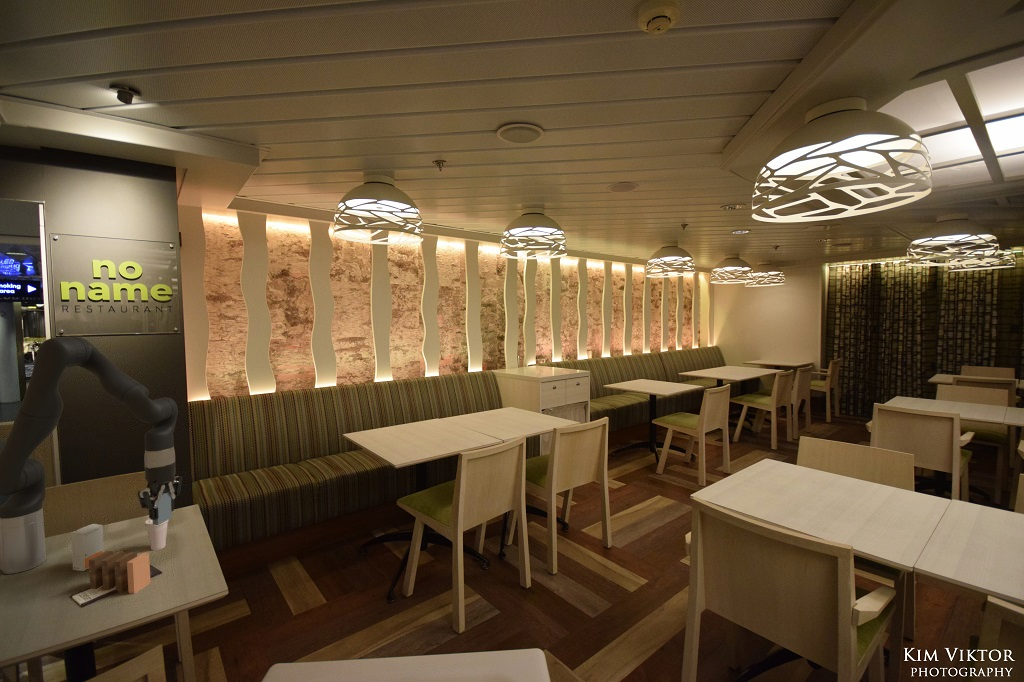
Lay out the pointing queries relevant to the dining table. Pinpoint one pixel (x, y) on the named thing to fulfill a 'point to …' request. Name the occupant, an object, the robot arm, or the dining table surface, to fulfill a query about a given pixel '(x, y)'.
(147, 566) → the domino end
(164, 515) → the domino
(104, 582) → the domino
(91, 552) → the skincare box
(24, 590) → the dining table surface
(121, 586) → the domino
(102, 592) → the chocolate bar
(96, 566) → the domino
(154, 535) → the smoothie
